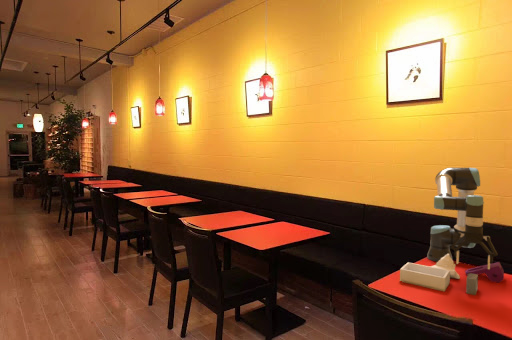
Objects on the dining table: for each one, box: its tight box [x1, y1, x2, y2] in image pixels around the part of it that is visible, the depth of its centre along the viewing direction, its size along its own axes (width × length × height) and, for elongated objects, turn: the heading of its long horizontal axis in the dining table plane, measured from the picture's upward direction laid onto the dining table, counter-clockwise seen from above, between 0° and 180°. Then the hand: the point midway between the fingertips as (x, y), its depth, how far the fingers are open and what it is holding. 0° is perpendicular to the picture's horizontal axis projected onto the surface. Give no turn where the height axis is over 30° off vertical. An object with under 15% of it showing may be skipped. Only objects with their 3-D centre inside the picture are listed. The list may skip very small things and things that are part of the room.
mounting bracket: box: [464, 261, 505, 283], centre depth 191 cm, size 9×8×18 cm
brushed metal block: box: [465, 273, 479, 296], centre depth 170 cm, size 10×4×8 cm, turn 141°
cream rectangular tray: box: [399, 261, 451, 292], centre depth 183 cm, size 16×22×7 cm
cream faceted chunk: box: [430, 254, 461, 280], centre depth 194 cm, size 12×15×14 cm
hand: (472, 265), depth 170 cm, fingers open, 13 cm apart
